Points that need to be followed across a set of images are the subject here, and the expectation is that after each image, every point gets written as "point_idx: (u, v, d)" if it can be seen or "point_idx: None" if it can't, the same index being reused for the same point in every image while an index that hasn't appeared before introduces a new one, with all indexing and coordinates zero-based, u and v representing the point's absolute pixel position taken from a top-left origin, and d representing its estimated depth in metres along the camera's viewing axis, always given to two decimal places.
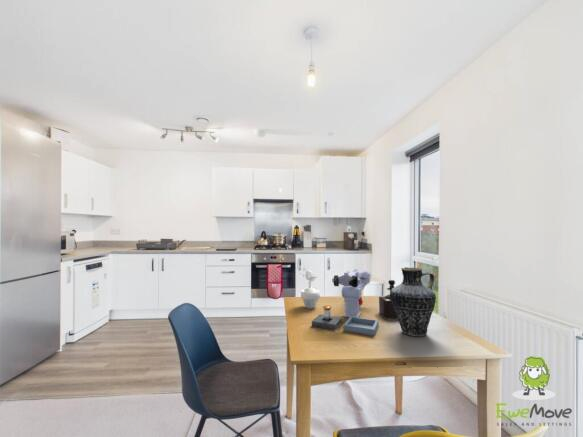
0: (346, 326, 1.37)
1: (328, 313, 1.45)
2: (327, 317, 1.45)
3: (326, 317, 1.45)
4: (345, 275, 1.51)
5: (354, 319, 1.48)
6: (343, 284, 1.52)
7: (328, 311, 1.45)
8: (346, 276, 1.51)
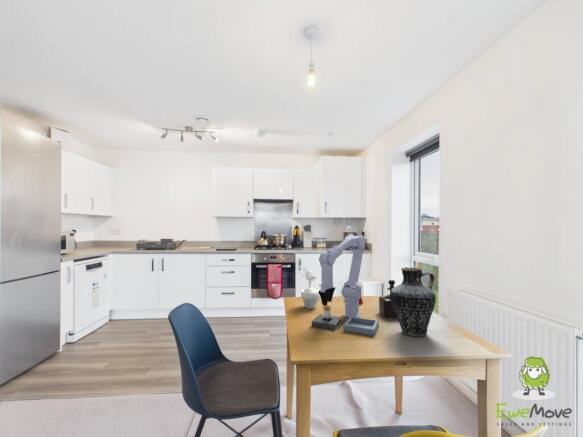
0: (346, 326, 1.37)
1: (328, 313, 1.45)
2: (327, 317, 1.45)
3: (326, 317, 1.45)
4: None
5: (354, 319, 1.48)
6: None
7: (328, 311, 1.45)
8: None
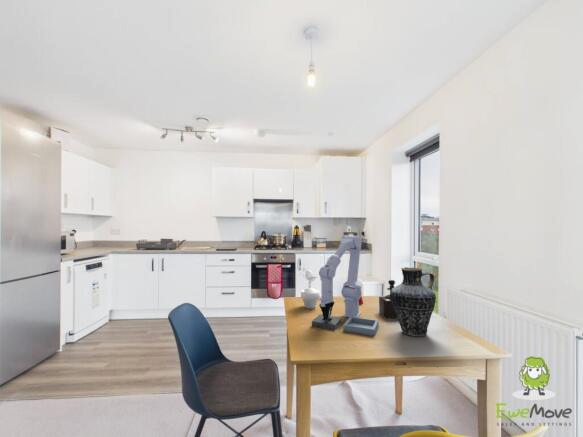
0: (346, 326, 1.37)
1: None
2: None
3: None
4: None
5: (354, 319, 1.48)
6: None
7: None
8: None
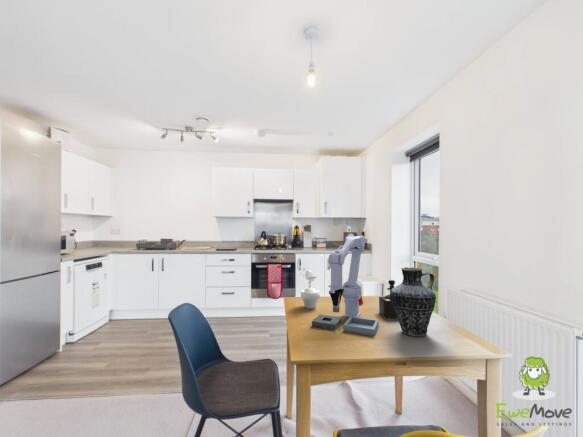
0: (346, 326, 1.37)
1: None
2: None
3: None
4: None
5: (354, 319, 1.48)
6: None
7: None
8: None
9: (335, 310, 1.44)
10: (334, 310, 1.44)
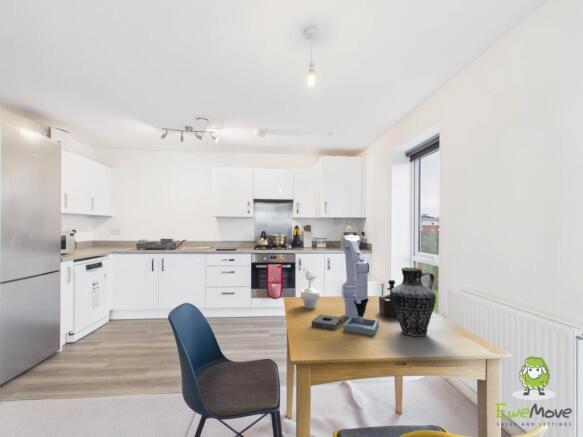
0: (346, 326, 1.37)
1: None
2: None
3: None
4: None
5: (354, 319, 1.48)
6: None
7: None
8: None
9: (359, 320, 1.39)
10: (358, 320, 1.40)
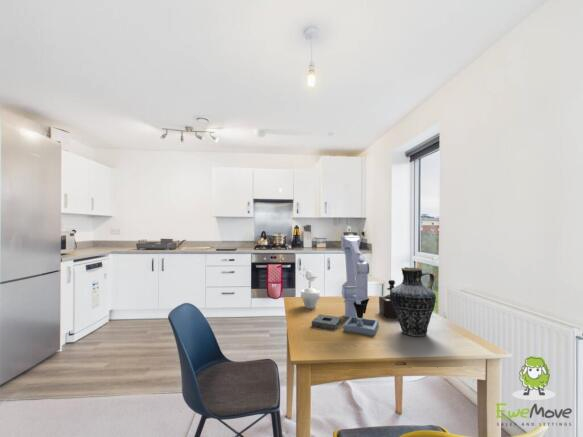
0: (346, 326, 1.37)
1: None
2: (360, 320, 1.39)
3: (359, 320, 1.39)
4: None
5: (354, 319, 1.48)
6: None
7: None
8: None
9: None
10: None
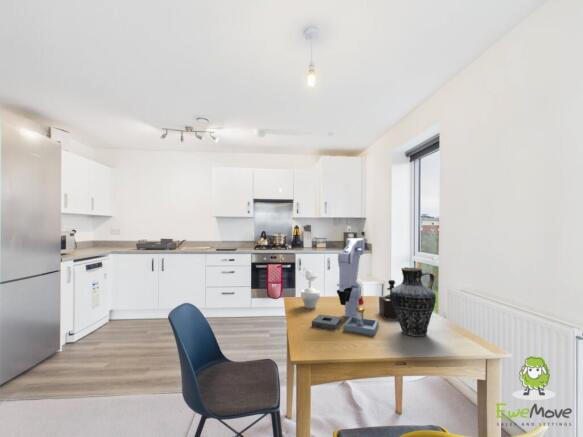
0: (346, 326, 1.37)
1: (361, 315, 1.40)
2: (360, 319, 1.40)
3: (359, 319, 1.40)
4: None
5: (354, 319, 1.48)
6: None
7: (362, 313, 1.40)
8: None
9: None
10: None
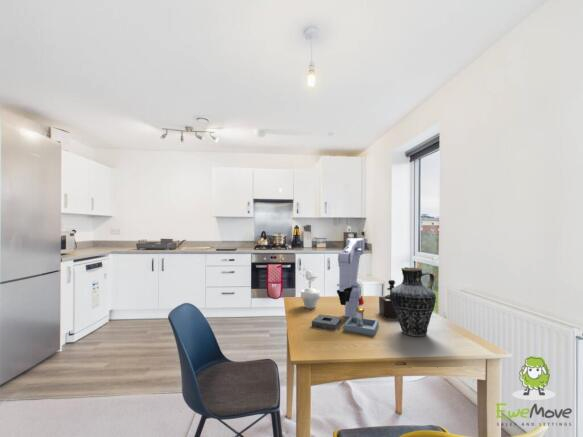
0: (346, 326, 1.37)
1: (361, 315, 1.39)
2: (360, 320, 1.39)
3: (359, 320, 1.39)
4: None
5: (354, 319, 1.48)
6: None
7: (361, 314, 1.39)
8: None
9: None
10: None
